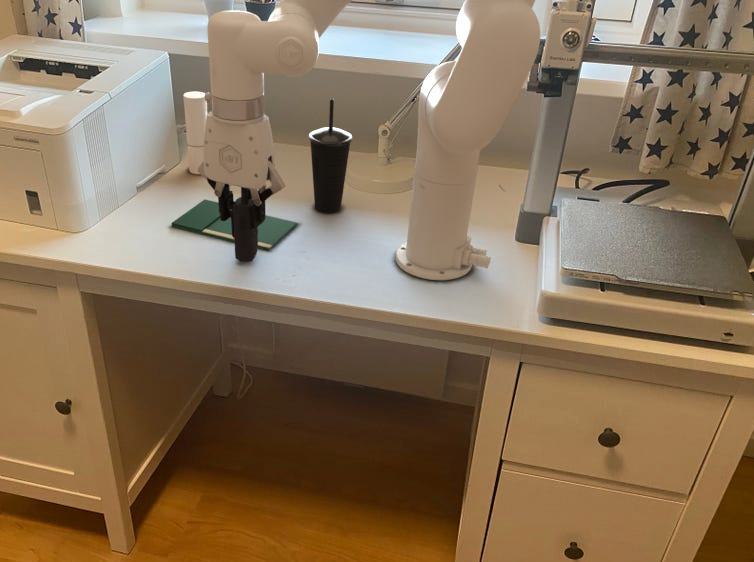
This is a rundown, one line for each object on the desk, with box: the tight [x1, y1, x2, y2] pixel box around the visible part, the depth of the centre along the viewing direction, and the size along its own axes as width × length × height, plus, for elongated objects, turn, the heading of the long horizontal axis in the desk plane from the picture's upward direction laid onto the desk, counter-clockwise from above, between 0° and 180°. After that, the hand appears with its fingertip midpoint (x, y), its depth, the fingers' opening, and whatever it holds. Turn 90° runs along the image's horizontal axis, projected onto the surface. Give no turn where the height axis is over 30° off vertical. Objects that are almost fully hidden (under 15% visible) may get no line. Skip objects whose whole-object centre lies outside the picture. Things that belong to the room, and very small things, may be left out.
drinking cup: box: [308, 98, 353, 214], centre depth 135 cm, size 8×8×20 cm
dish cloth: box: [171, 199, 298, 251], centre depth 133 cm, size 19×11×1 cm, turn 67°
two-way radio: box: [227, 187, 259, 263], centre depth 119 cm, size 6×4×15 cm
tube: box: [182, 90, 208, 175], centre depth 148 cm, size 4×4×15 cm
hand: (242, 220), depth 119 cm, fingers closed on two-way radio, 4 cm apart
